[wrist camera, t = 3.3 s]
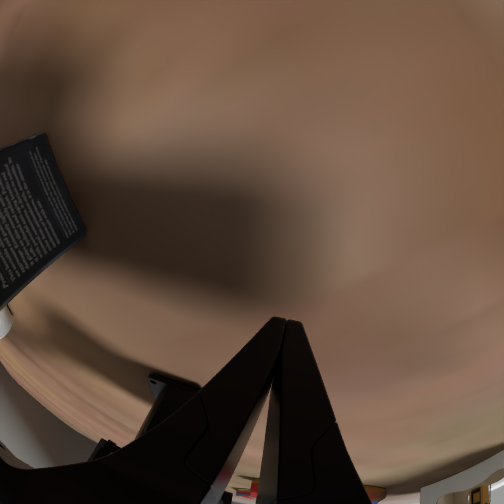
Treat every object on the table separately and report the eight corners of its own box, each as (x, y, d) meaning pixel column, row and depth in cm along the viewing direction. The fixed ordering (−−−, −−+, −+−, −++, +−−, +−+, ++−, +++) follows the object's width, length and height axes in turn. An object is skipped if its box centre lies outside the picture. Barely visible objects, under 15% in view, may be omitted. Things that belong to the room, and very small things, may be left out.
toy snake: (320, 503, 42) (318, 520, 38) (228, 491, 43) (223, 509, 39) (403, 474, 26) (404, 501, 21) (262, 468, 27) (255, 501, 22)
